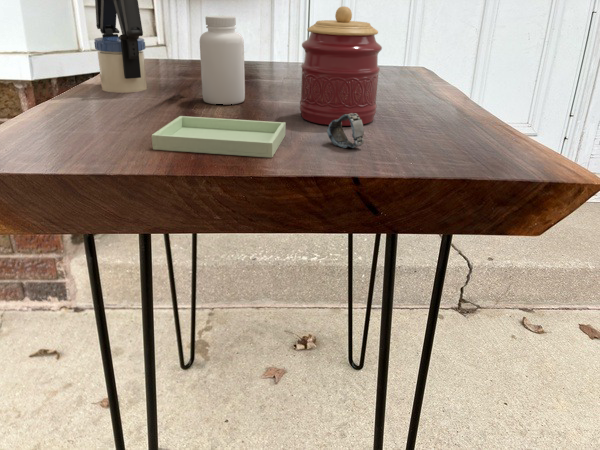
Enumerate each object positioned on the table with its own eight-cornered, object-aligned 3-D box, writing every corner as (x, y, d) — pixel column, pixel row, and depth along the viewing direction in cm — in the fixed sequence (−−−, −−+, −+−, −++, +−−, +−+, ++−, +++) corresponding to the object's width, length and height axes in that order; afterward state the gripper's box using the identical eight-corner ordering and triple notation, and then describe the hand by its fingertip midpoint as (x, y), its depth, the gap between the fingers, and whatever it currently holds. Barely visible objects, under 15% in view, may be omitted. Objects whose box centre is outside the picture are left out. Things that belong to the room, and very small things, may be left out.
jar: (95, 102, 96) (87, 44, 91) (115, 93, 103) (108, 40, 99) (137, 104, 95) (132, 46, 91) (154, 96, 102) (150, 42, 98)
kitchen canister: (384, 127, 85) (396, 9, 78) (305, 127, 83) (309, 7, 76) (364, 109, 97) (373, 5, 89) (294, 109, 95) (297, 3, 88)
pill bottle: (194, 100, 100) (189, 14, 93) (228, 95, 105) (226, 14, 98) (218, 107, 94) (215, 18, 88) (253, 102, 99) (253, 17, 93)
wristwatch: (352, 153, 76) (336, 124, 77) (372, 137, 72) (354, 105, 72) (337, 159, 74) (320, 129, 75) (355, 142, 70) (338, 110, 71)
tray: (152, 149, 70) (151, 134, 69) (180, 128, 80) (179, 115, 80) (272, 157, 69) (272, 143, 68) (285, 135, 79) (285, 122, 78)
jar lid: (133, 52, 91) (132, 42, 90) (86, 50, 92) (84, 40, 91) (152, 47, 98) (151, 38, 98) (109, 45, 99) (107, 35, 99)
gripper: (65, -66, 93) (83, 67, 102) (108, -72, 78) (124, 85, 87) (108, -63, 97) (121, 65, 107) (156, -68, 82) (167, 81, 91)
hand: (123, 74), depth 97 cm, fingers closed on jar lid, 8 cm apart
